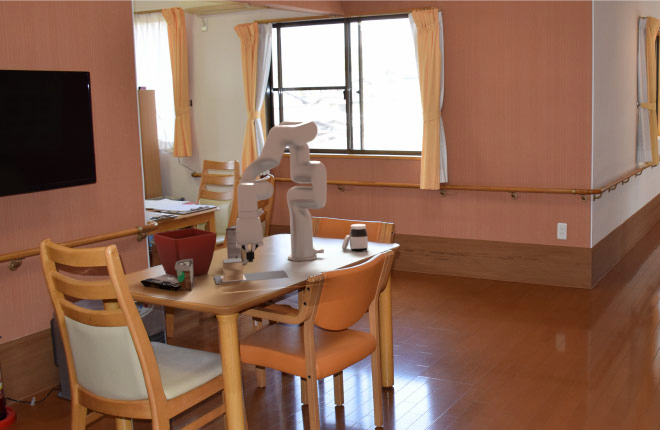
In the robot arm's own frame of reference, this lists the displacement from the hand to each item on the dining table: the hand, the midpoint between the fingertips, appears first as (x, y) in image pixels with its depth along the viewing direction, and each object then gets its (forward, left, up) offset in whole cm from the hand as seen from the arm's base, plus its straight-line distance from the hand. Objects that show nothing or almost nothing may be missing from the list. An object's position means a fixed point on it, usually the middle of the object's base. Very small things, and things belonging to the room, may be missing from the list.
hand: (250, 261), depth 287 cm
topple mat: (0, 0, -7) cm, 7 cm away
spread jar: (-52, -38, -7) cm, 64 cm away
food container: (+26, +7, -7) cm, 28 cm away
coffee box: (+2, -29, -7) cm, 29 cm away
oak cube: (+7, 0, +1) cm, 7 cm away
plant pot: (+24, -17, -7) cm, 30 cm away
